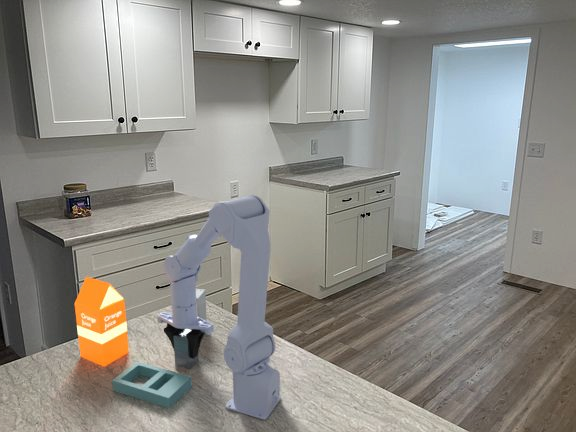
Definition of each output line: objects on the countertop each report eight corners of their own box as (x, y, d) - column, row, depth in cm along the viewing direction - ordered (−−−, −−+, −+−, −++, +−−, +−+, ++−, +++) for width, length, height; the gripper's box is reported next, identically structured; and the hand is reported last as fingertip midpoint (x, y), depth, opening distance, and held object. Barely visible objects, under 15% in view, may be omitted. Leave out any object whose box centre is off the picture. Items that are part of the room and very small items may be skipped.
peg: (198, 360, 115) (197, 331, 113) (189, 369, 111) (187, 339, 109) (184, 357, 117) (183, 328, 114) (175, 365, 113) (173, 335, 111)
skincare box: (192, 327, 131) (190, 288, 128) (207, 329, 130) (206, 289, 127) (185, 338, 125) (182, 297, 122) (200, 340, 125) (198, 298, 122)
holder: (191, 386, 105) (191, 376, 104) (169, 408, 98) (168, 398, 97) (138, 370, 111) (137, 361, 110) (113, 390, 103) (112, 380, 103)
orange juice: (104, 367, 112) (96, 289, 107) (79, 356, 116) (71, 281, 111) (129, 351, 119) (123, 278, 114) (105, 342, 123) (98, 271, 118)
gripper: (219, 301, 111) (221, 352, 114) (169, 290, 116) (171, 340, 120) (203, 313, 104) (205, 367, 108) (150, 302, 110) (154, 353, 113)
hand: (186, 354), depth 113 cm, fingers closed on peg, 4 cm apart
